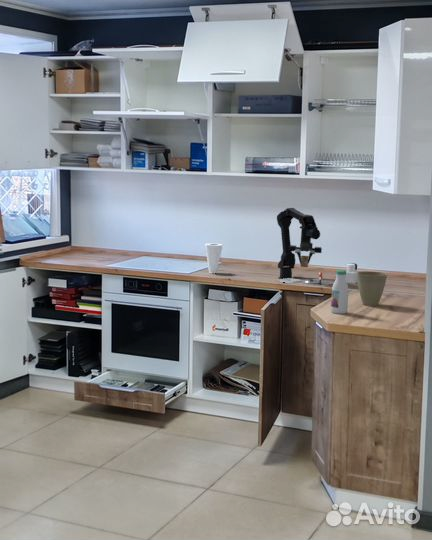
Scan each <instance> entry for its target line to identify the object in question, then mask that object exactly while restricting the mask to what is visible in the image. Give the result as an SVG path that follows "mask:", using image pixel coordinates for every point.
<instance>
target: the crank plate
mask: <svg viewBox="0 0 432 540" xmlns="http://www.w3.org/2000/svg"><path fill="white" fill-rule="evenodd" d="M295 283H297V284H303V285H304V284H305V285H308V286H309V285H310V286H314V287H315V286H316V287H323V286H327V285H333V283H331V282H324V281H322V280H321V279H319V283H318V284H308V283H304V280H302V282H295Z"/></svg>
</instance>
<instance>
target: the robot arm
mask: <svg viewBox="0 0 432 540" xmlns="http://www.w3.org/2000/svg"><path fill="white" fill-rule="evenodd" d="M293 219H296V220H297V221H298V223H299V224H300V226H299V229H301V231H300V232H301V233H300V245H299V246H297V245H292V244H291V236H290V233H291V232H290V227H291V224H292V220H293ZM276 223H277V225H278V226H279V228H280V234H281V245H282V252H281V253H282V254H281V256H280V260H279V262H278V263H277V268H278V269H279V277H278V279H281V278H284V279H286V278H292V279H293V271H292V269H294V268H295V264H296V255H297V257H298V260H299V264H300V265H301V256H302V255H301V254H302V252H309V254H308V256H309V257H308V265H309V264H310V262H311V258H312V256H313V255H315V254H322V250H323V248H322V246H315V247H313V245H314V244H313V242H312V240H319V238H320V236H321V231H320V230H319V228H318V227H317V223H316V221H315V218H314V216H313V215H312V214H304V213H303V212H301V211H299V210H298V209H296V208H294V207H287V208H286V209H284V210H282V211H281V212H279V213H278V215H276Z"/></svg>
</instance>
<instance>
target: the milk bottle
mask: <svg viewBox="0 0 432 540" xmlns="http://www.w3.org/2000/svg"><path fill="white" fill-rule="evenodd" d="M346 271H347V270H341V269H340V270H339V269H337V270H336V272H335V275H336V278H335V280H334V282H333V283H332V288H331V301H330V312H331V313H333V314H338V315H339V314H342V315H343V314H345V315H346V314H347V313H348V309H349V308H348V307H349V306H348V305H349V286H348V283H347V282H346V278H345V276H346Z"/></svg>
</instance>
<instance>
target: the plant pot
mask: <svg viewBox="0 0 432 540" xmlns="http://www.w3.org/2000/svg"><path fill="white" fill-rule="evenodd" d="M387 277H388V274H387V273H386V272H381V271H358V272H357V280H358V282H357V287H358V291H359V295H360V299H361V302H362V305H363V306H367V307H376V306H379V304H380V300H381V299H382V296H383V293H384V290H385V286H386V283H387Z"/></svg>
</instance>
